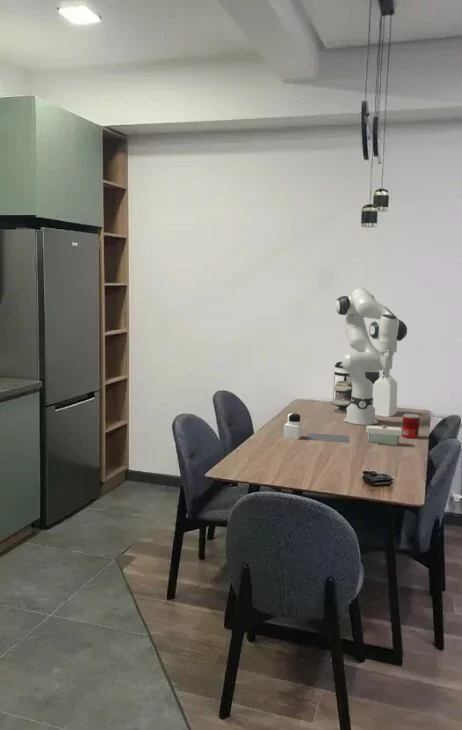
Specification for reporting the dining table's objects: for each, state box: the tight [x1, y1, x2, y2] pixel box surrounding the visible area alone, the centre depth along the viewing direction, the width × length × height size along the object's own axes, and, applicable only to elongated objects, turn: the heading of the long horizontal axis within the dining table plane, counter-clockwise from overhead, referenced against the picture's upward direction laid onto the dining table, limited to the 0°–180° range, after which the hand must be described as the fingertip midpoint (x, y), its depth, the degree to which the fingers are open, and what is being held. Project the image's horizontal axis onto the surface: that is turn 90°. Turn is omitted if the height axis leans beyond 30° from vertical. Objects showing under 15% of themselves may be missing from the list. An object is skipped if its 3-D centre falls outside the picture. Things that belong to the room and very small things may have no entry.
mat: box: [307, 432, 351, 444], centre depth 309 cm, size 14×20×1 cm
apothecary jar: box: [332, 381, 352, 414], centre depth 378 cm, size 12×12×18 cm
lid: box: [365, 424, 402, 437], centre depth 305 cm, size 6×16×4 cm, turn 82°
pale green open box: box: [367, 433, 400, 446], centre depth 305 cm, size 5×14×5 cm, turn 82°
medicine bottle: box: [283, 413, 304, 440], centre depth 307 cm, size 7×7×12 cm
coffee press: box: [330, 360, 352, 405], centre depth 398 cm, size 17×16×30 cm
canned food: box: [401, 413, 421, 439], centre depth 320 cm, size 8×8×11 cm
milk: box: [372, 371, 398, 418], centre depth 375 cm, size 12×12×26 cm
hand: (385, 376), depth 311 cm, fingers open, 8 cm apart
